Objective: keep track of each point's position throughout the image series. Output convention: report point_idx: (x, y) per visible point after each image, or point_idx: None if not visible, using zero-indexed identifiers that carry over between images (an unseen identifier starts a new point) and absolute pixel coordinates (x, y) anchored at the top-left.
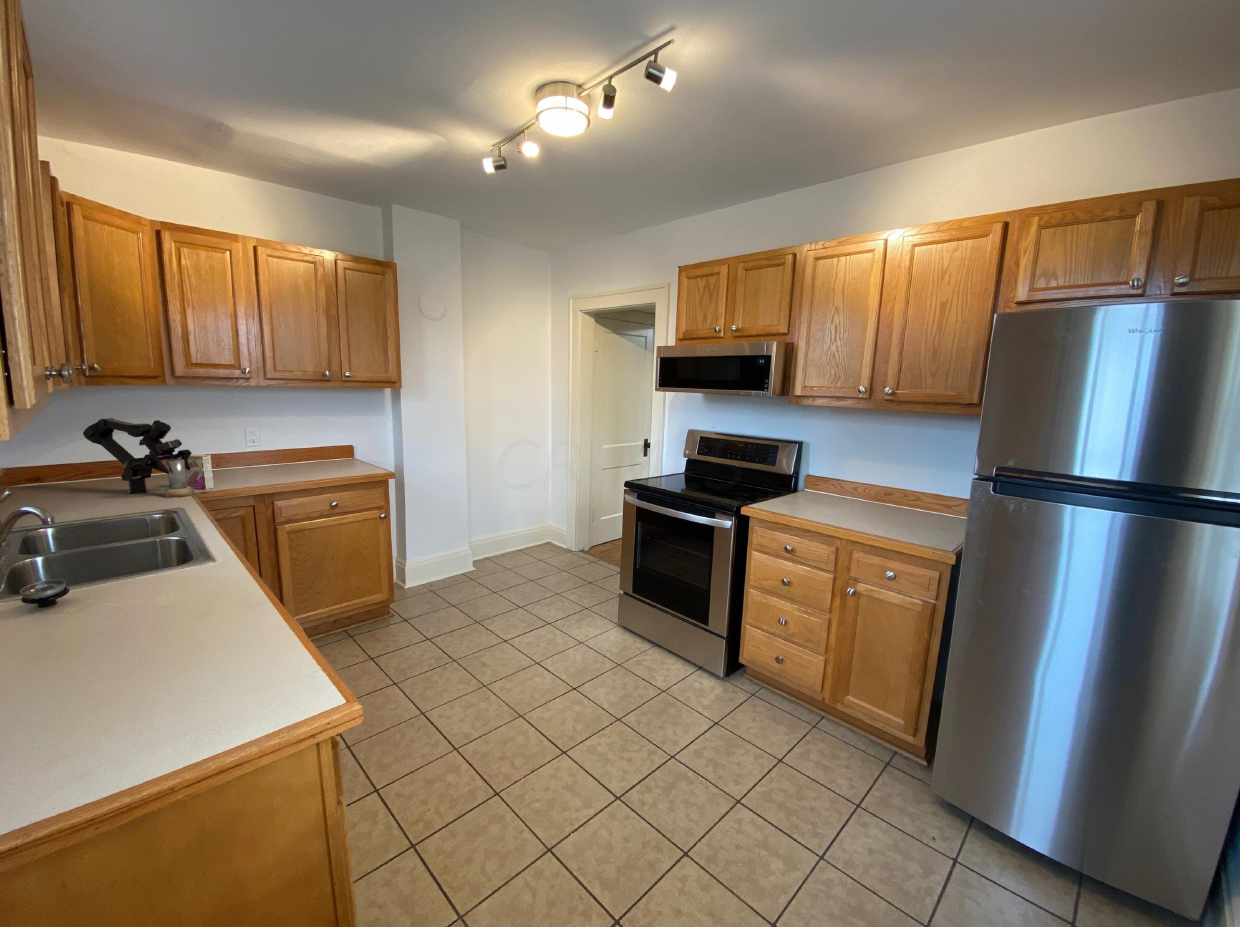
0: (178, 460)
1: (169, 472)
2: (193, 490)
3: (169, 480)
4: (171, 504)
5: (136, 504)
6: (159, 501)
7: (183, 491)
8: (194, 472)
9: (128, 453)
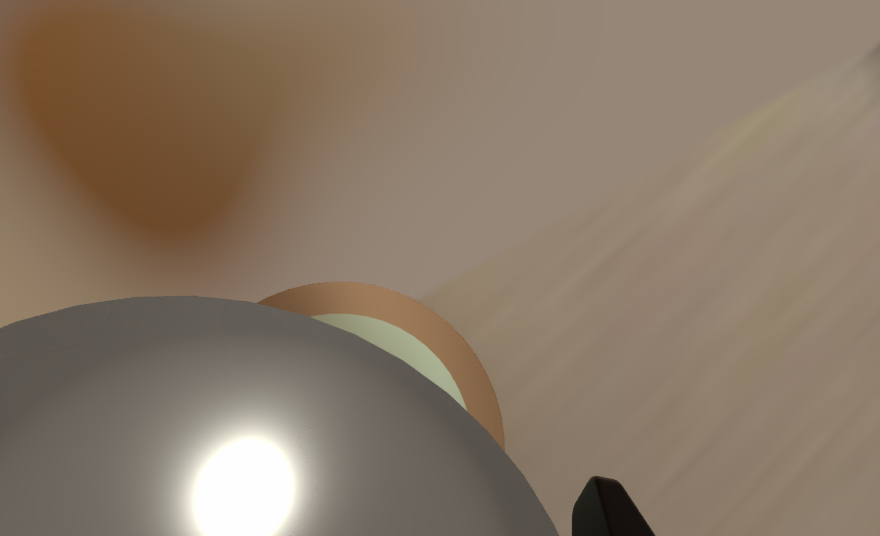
0: (300, 424)
1: (592, 478)
2: None
3: None
4: (764, 173)
5: (826, 531)
6: (667, 403)
7: (430, 309)
8: None
9: None
